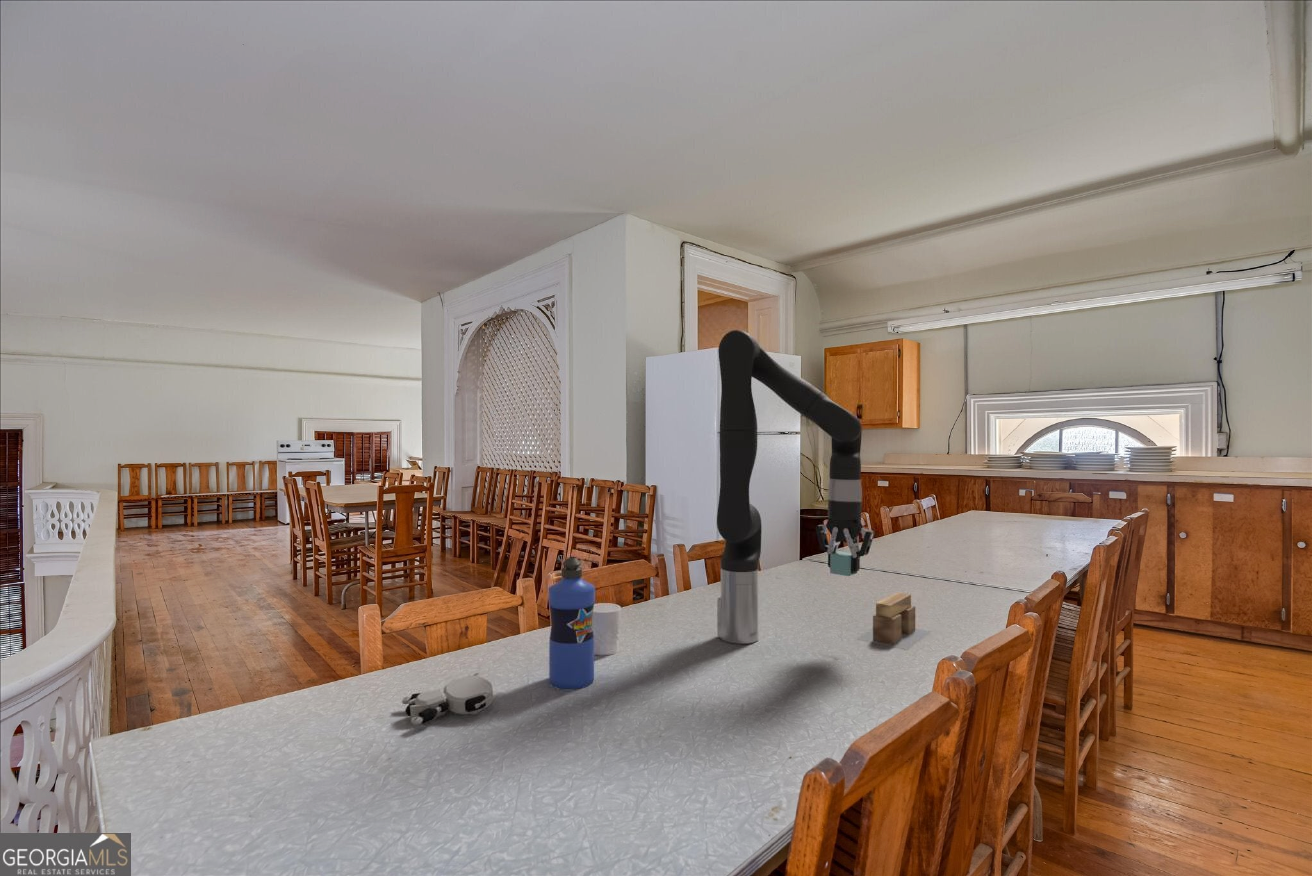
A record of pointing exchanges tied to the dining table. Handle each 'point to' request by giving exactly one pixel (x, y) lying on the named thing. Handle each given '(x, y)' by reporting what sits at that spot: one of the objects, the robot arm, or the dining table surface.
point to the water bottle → (571, 629)
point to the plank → (893, 605)
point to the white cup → (606, 628)
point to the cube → (840, 563)
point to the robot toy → (450, 699)
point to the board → (905, 640)
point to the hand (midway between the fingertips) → (843, 571)
